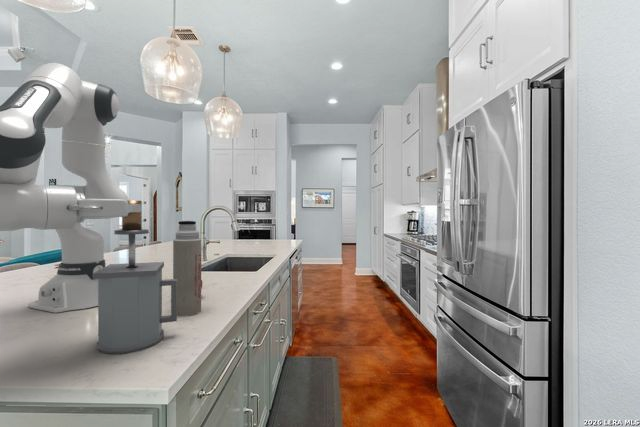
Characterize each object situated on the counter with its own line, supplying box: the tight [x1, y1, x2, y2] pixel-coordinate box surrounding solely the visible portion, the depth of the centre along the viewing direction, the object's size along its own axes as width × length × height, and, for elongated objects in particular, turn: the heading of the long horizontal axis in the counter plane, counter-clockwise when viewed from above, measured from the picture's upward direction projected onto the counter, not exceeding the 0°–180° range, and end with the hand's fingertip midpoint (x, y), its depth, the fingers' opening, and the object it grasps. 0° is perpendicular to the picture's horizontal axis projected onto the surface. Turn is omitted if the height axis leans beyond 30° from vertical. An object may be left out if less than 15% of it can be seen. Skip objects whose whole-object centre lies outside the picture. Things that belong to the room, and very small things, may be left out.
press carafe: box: [93, 261, 178, 355], centre depth 75 cm, size 17×14×18 cm
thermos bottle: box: [172, 220, 202, 317], centre depth 96 cm, size 8×8×28 cm
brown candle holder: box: [114, 199, 150, 268], centre depth 74 cm, size 10×10×19 cm
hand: (136, 208), depth 75 cm, fingers closed on brown candle holder, 4 cm apart
